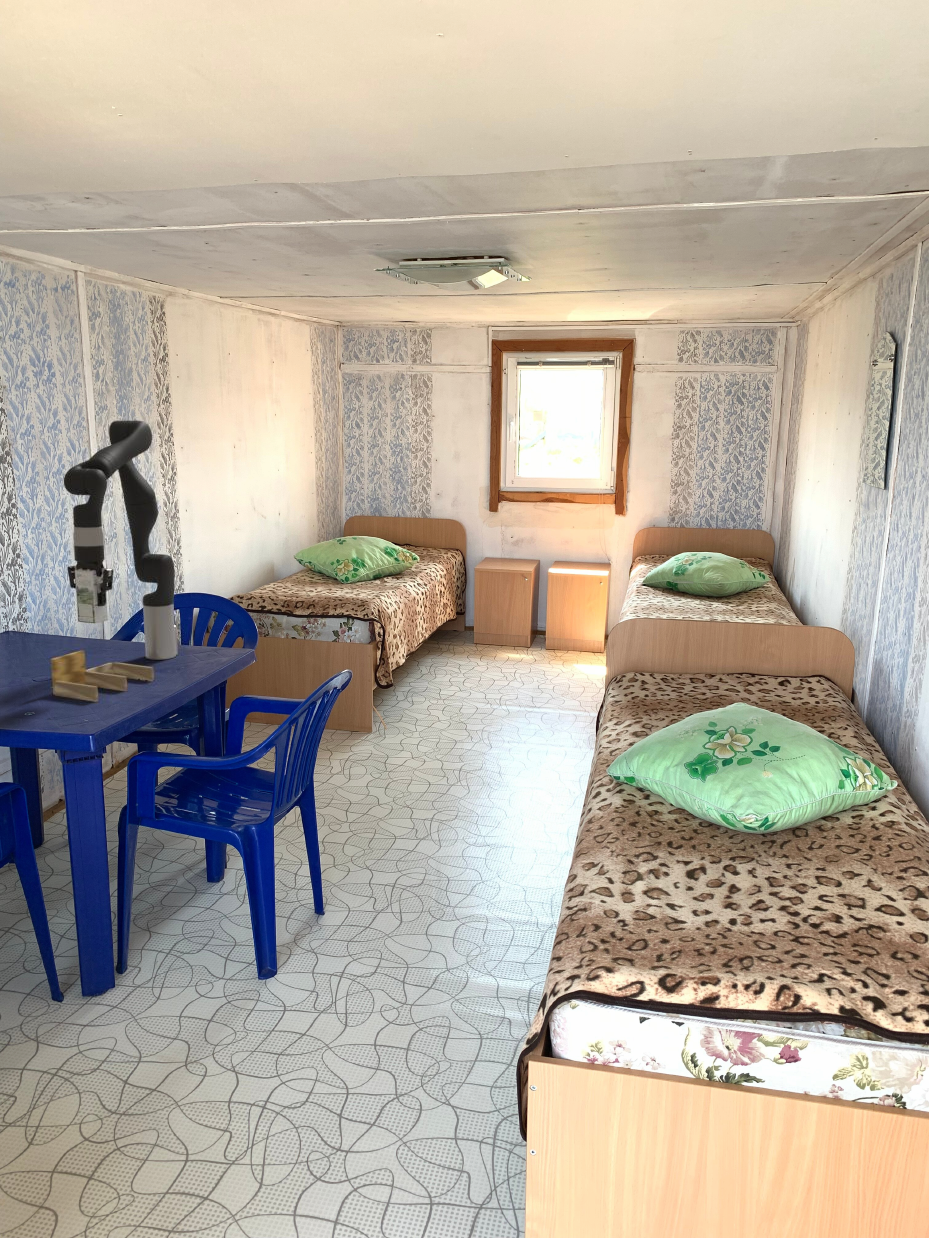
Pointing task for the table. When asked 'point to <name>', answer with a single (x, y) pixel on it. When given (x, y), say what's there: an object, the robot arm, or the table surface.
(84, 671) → the wooden rack
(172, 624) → the robot arm
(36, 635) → the table surface
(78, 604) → the syrup box
